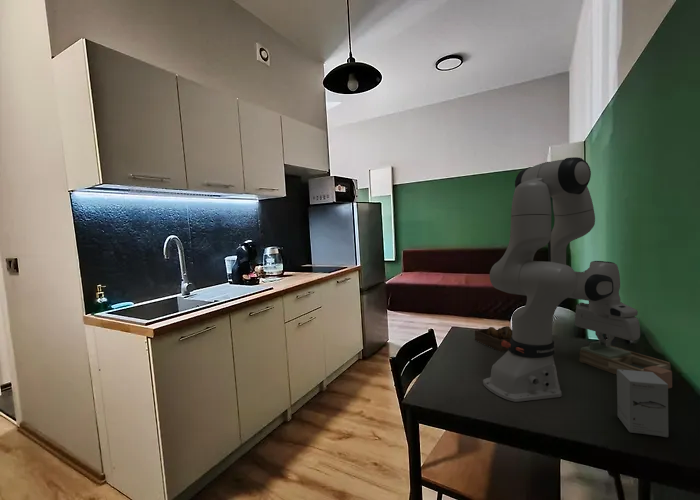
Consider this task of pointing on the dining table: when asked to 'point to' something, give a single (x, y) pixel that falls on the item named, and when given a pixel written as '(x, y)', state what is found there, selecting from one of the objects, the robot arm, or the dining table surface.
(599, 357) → the wooden box
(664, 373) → the cube
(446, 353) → the dining table surface
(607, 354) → the cover
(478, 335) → the lion stand
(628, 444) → the dining table surface
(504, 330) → the lion figurine
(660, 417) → the supplement box
